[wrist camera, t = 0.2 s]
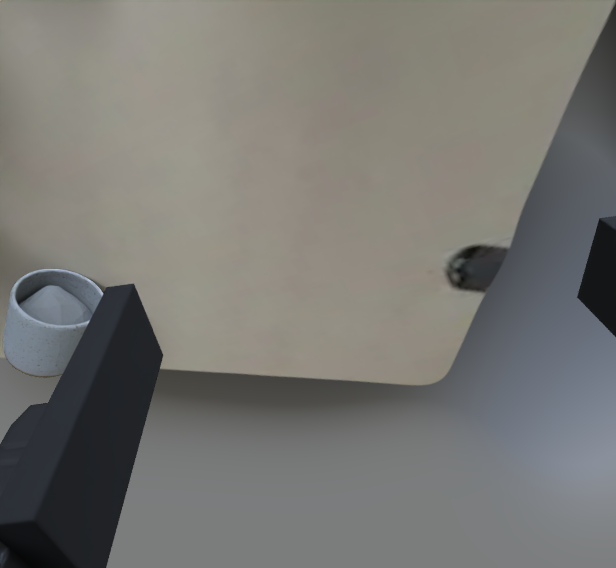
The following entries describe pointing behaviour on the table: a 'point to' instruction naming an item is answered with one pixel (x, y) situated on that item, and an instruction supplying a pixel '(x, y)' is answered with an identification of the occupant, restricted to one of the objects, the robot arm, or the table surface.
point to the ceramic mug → (47, 320)
